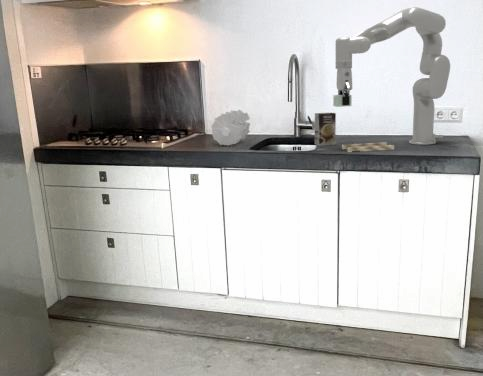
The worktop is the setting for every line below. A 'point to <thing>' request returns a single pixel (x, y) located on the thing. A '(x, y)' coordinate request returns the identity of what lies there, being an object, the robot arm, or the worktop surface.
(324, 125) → the coffee box
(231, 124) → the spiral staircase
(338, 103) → the sage block
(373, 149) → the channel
